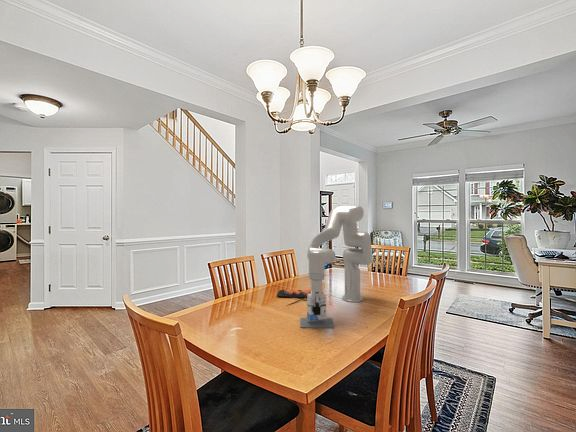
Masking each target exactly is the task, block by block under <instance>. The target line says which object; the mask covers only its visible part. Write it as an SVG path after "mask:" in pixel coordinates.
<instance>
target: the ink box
mask: <svg viewBox="0 0 576 432" xmlns="http://www.w3.org/2000/svg"><path fill="white" fill-rule="evenodd" d="M306 300H307V301H306V302H307V303H306V306H307V307H306V308H307V309H306V315H307V317H306V318H309V320H320V319H326V318H327V295H326V293H324V292H322V297H321V301H320V311H321V314H320V315H314V300H313V301H312V300H311V294H307V298H306ZM315 300H316V299H315ZM315 302H316V301H315Z"/></svg>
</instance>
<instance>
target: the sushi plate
mask: <svg viewBox="0 0 576 432" xmlns="http://www.w3.org/2000/svg"><path fill="white" fill-rule="evenodd" d="M307 294H311V289H295V288H294V289H280V290H278V292H277V295H276V296H277V297H281V298H282V297H284V298H294V299H298V300H296V301H294V302H291V303H289V304H287V305H286V304H285V307H288V306H292V305H294V304H296V303H298V302H300V301H306V302H307Z"/></svg>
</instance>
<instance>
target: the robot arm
mask: <svg viewBox="0 0 576 432" xmlns="http://www.w3.org/2000/svg"><path fill="white" fill-rule="evenodd" d="M364 213H365V211H364V208H363V207H362V205H337V206H335V207H334V208H333V209H331V210H330V212H329V214H328V217H327V220H326V223H325V226H324V229H323V230H322V231H321V232H319V233H317V235H315V236H314V238H313V239H312V240H311V242H310V245H309V246H308V249H307V250H308V251H307V259H308V280H310V290H311V300H312V301H313V300H314V315H320V314H321V311H320V301H321V297H322V293H323V281H324V280H325V265H329V264H333V262H334V261H335V259H336V253H335V250H333V249H330V248H324V247H321V245H323V244H325V243H327V242H330V241H332V240H335V239H336V238H339V236H340V232H341V230H342V235H343V241H344V245H345V246H346V247H348V248H345V249H344V250H343V252H342V260H343V265H344V295H342V296H341V300H343V301H345V302H347V303H348V302H349V303H359V302H362V301H364V298H363V296H361V269H360V267H359V266H368V265H370V264H371V263H372V262H373V251H372V239H371V235H370V234H369V233H368V232H367V231H359V230H358V226H357V225H358V224H357V223H358V222H360V221H361V220H363V218H364ZM358 265H359V266H358ZM315 299H316V300H315ZM315 301H316V302H315Z"/></svg>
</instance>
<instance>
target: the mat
mask: <svg viewBox="0 0 576 432" xmlns="http://www.w3.org/2000/svg"><path fill="white" fill-rule="evenodd" d="M299 328H301V329H335V325H334V321H333V318H332V317H326V319H320V320H309V318H308V317H300V327H299Z"/></svg>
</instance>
